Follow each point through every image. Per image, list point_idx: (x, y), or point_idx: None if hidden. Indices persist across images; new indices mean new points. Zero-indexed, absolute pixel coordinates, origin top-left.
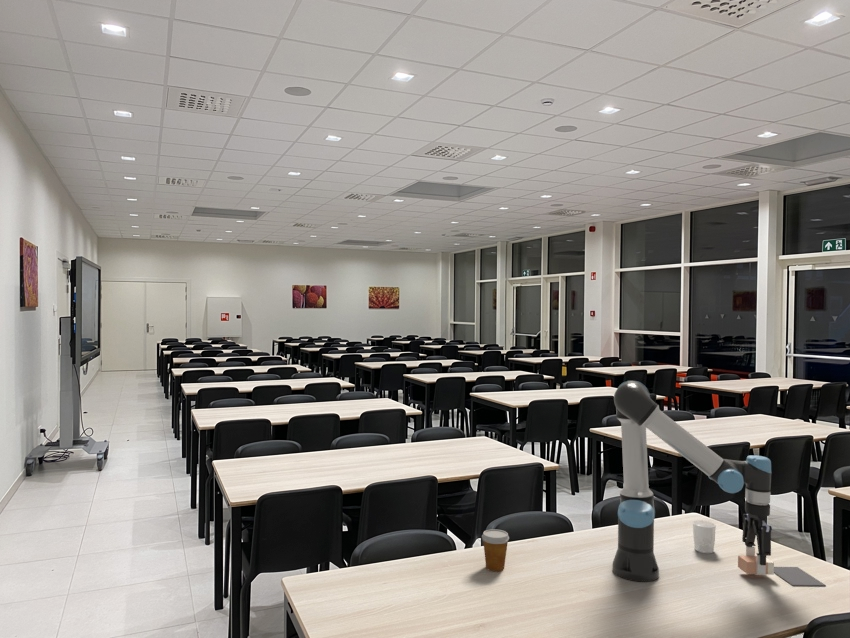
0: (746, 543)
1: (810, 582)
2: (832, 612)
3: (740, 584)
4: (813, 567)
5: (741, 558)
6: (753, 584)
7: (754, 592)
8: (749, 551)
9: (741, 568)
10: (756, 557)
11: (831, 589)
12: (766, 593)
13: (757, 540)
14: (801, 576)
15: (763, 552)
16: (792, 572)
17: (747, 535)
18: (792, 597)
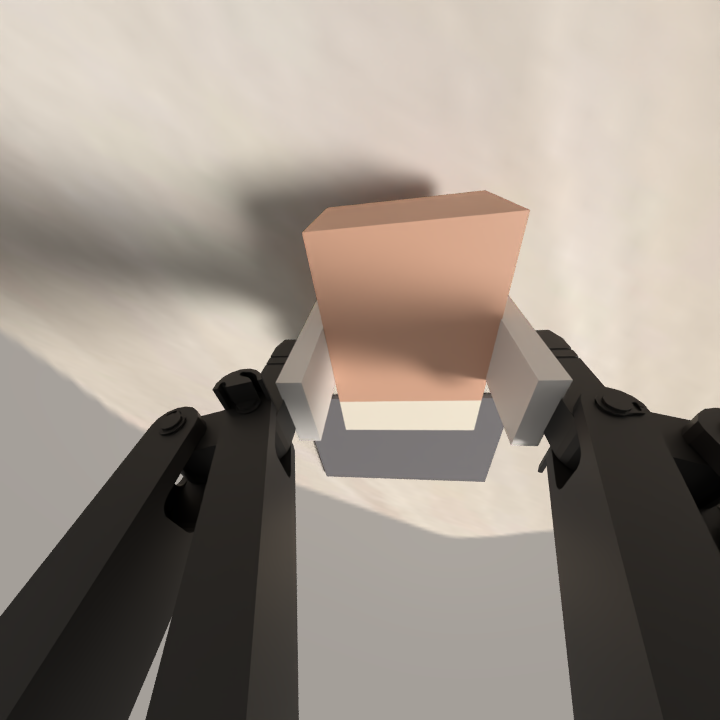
0: (603, 416)
1: (339, 455)
2: (104, 403)
3: (220, 84)
4: (480, 507)
5: (438, 218)
6: (260, 212)
7: (110, 150)
8: (510, 366)
9: (421, 199)
10: (446, 375)
11: (306, 473)
12: (144, 236)
13: (232, 602)
14: (392, 456)
15: (144, 441)
16: (432, 450)
17: (706, 599)
18: (167, 343)
